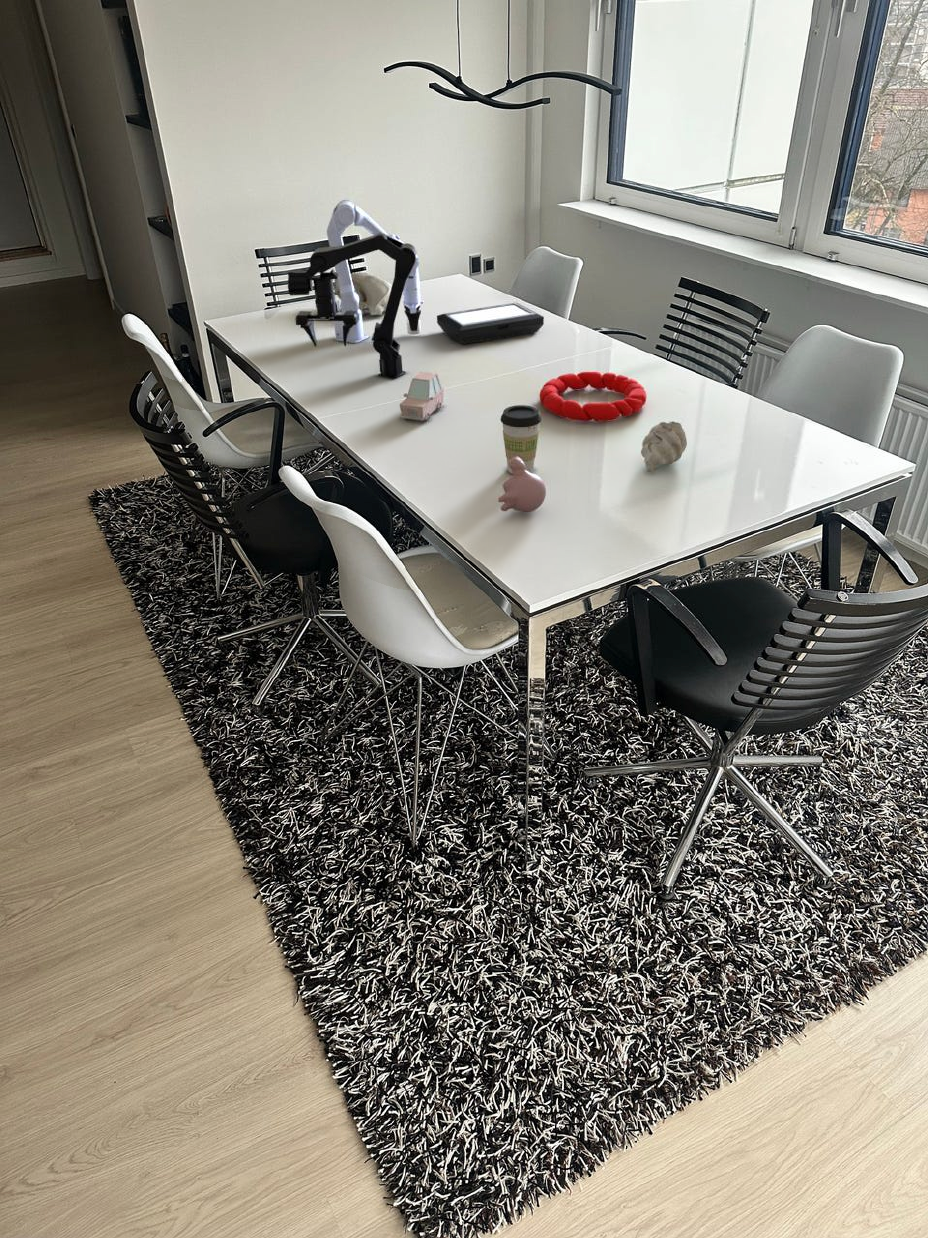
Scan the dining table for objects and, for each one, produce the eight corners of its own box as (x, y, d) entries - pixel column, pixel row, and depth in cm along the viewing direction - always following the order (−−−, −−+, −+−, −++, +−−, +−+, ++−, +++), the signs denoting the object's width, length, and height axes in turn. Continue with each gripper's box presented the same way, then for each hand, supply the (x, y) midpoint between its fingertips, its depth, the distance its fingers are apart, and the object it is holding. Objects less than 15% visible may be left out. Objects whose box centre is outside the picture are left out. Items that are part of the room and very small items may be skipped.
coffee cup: (511, 481, 215) (511, 422, 206) (494, 465, 222) (493, 408, 214) (547, 473, 218) (549, 414, 209) (529, 458, 225) (530, 401, 217)
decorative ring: (525, 401, 245) (634, 402, 234) (555, 365, 268) (655, 365, 258) (527, 426, 249) (634, 428, 238) (556, 389, 272) (655, 390, 261)
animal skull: (363, 342, 338) (386, 304, 323) (318, 293, 338) (340, 252, 323) (389, 330, 349) (414, 293, 335) (347, 283, 350) (369, 244, 335)
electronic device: (459, 327, 297) (436, 313, 313) (460, 346, 301) (437, 331, 316) (543, 314, 308) (517, 300, 323) (543, 332, 311) (517, 318, 326)
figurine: (490, 509, 203) (489, 460, 196) (532, 497, 207) (532, 449, 201) (510, 525, 197) (510, 475, 190) (552, 512, 201) (554, 463, 194)
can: (405, 334, 311) (405, 321, 308) (409, 330, 315) (408, 317, 312) (419, 334, 310) (418, 322, 308) (422, 330, 314) (421, 318, 311)
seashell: (697, 464, 220) (702, 426, 214) (648, 478, 214) (652, 439, 208) (671, 449, 227) (675, 412, 222) (623, 462, 222) (626, 424, 216)
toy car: (396, 421, 248) (393, 386, 242) (418, 402, 260) (416, 368, 254) (427, 425, 245) (425, 390, 239) (448, 405, 257) (447, 371, 251)
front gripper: (360, 286, 272) (364, 338, 281) (300, 287, 274) (306, 338, 282) (353, 296, 263) (358, 349, 272) (291, 297, 265) (298, 349, 273)
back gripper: (424, 293, 298) (426, 333, 306) (421, 282, 310) (424, 321, 318) (403, 294, 298) (405, 335, 305) (401, 283, 310) (404, 322, 317)
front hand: (330, 346), depth 275 cm, fingers open, 9 cm apart
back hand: (413, 328), depth 312 cm, fingers closed on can, 5 cm apart
